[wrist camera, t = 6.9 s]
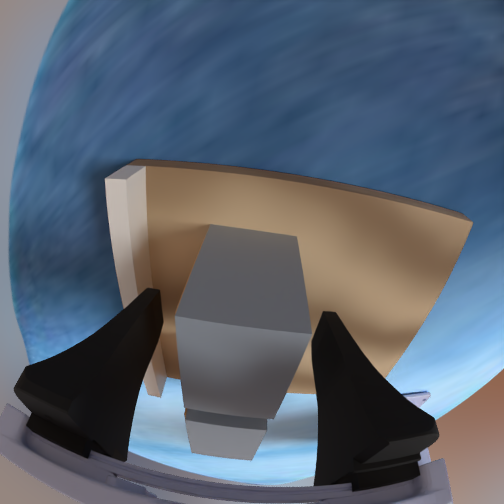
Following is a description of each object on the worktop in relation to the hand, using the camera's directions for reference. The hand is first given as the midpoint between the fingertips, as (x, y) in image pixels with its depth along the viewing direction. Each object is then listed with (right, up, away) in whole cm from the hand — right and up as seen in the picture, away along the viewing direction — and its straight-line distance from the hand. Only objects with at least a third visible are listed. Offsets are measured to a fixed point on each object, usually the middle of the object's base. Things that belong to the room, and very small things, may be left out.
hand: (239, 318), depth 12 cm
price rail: (-6, 0, +4) cm, 7 cm away
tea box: (0, +1, +2) cm, 3 cm away
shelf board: (+3, -1, +5) cm, 6 cm away
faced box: (-1, -5, +6) cm, 8 cm away
